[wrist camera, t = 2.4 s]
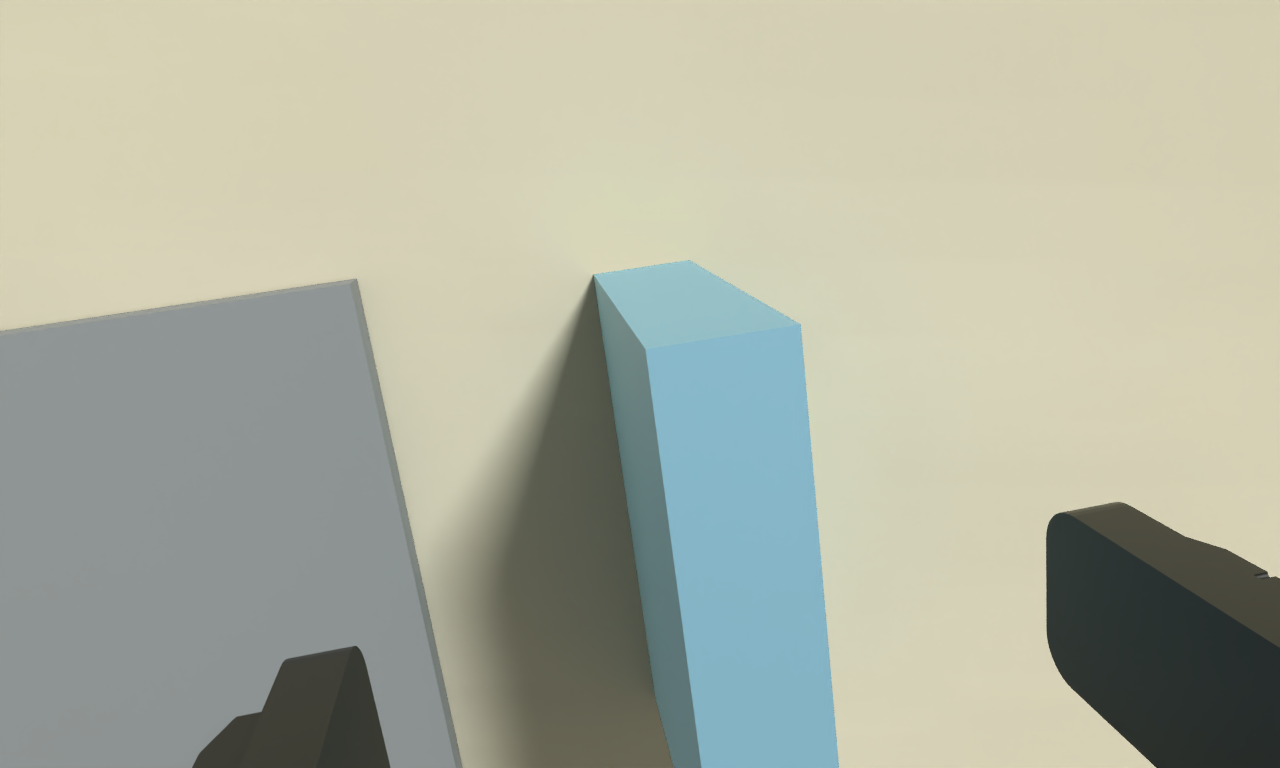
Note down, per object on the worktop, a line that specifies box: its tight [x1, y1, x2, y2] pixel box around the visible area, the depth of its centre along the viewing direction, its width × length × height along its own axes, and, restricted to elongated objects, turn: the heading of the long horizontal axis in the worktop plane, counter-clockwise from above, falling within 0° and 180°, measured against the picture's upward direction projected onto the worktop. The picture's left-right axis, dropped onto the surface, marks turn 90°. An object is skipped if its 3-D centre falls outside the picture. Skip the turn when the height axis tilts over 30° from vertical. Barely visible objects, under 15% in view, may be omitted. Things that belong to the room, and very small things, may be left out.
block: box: [594, 260, 839, 768], centre depth 13 cm, size 2×8×6 cm, turn 8°
